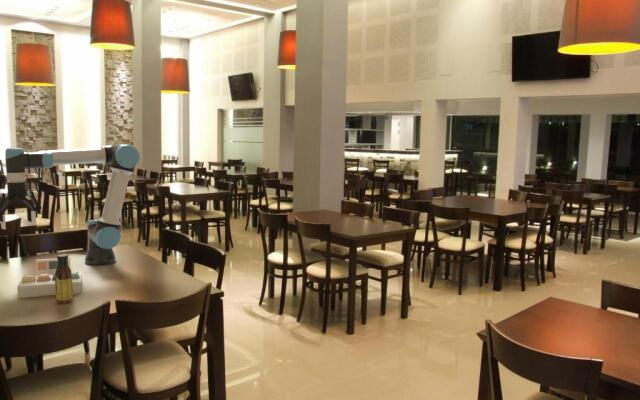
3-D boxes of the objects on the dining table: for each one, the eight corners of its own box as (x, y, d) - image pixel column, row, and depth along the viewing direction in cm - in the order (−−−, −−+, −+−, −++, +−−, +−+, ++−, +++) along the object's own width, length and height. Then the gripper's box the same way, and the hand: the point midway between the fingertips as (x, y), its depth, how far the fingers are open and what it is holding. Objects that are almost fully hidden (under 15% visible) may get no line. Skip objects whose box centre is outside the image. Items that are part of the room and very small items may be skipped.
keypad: (82, 282, 241) (81, 272, 240) (81, 292, 226) (80, 281, 226) (22, 287, 232) (22, 276, 231) (17, 298, 217) (17, 286, 216)
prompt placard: (70, 280, 244) (70, 257, 243) (70, 281, 243) (69, 258, 242) (36, 283, 238) (36, 259, 237) (36, 283, 238) (35, 260, 236)
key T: (34, 283, 228) (34, 274, 227) (33, 286, 224) (33, 276, 224) (24, 284, 226) (23, 274, 226) (22, 287, 223) (22, 277, 222)
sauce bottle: (59, 299, 217) (58, 252, 214) (75, 299, 218) (73, 252, 215) (53, 304, 211) (51, 256, 208) (69, 304, 211) (67, 256, 209)
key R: (78, 280, 235) (78, 271, 234) (78, 282, 231) (78, 273, 230) (68, 281, 233) (68, 271, 233) (67, 283, 229) (67, 274, 229)
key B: (49, 282, 230) (49, 273, 230) (49, 285, 226) (48, 275, 226) (39, 283, 229) (38, 273, 228) (38, 285, 225) (37, 276, 224)
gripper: (39, 179, 253) (42, 222, 256) (-17, 182, 233) (-14, 229, 236) (47, 180, 249) (49, 223, 252) (-10, 184, 229) (-7, 231, 232)
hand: (19, 226), depth 244 cm, fingers open, 13 cm apart
